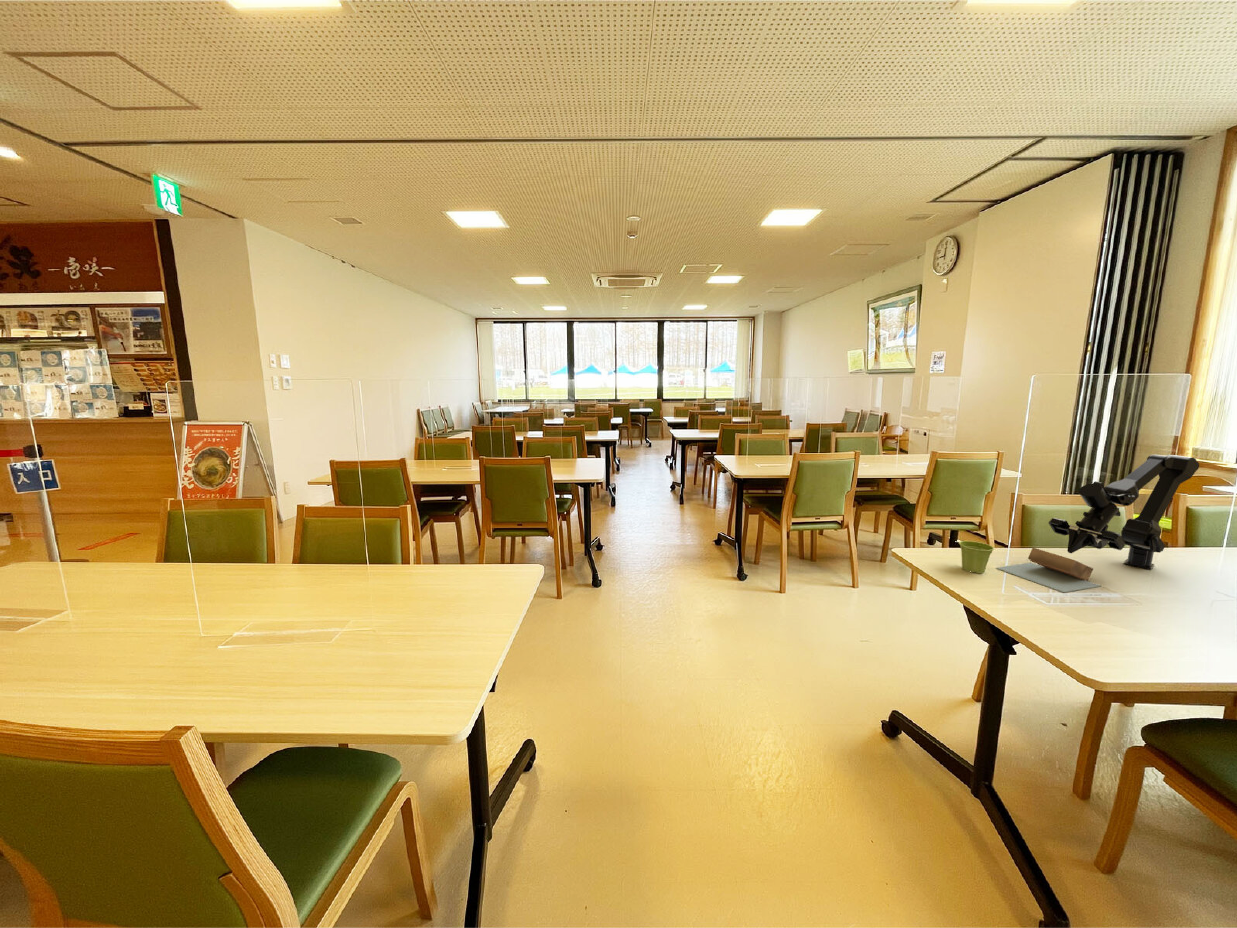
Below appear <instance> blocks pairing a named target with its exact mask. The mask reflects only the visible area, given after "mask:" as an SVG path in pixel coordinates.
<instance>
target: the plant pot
mask: <svg viewBox="0 0 1237 928" xmlns="http://www.w3.org/2000/svg"><path fill="white" fill-rule="evenodd" d="M958 545H959V546H960V549H961V568H962V569H963V571H967V572H969V571H971V572H970V573H977V574H984V573H985V572H986V568H987V565H988V562H989V559H990V557H991V554H992V553H993V551H994V550H995V547H994V546H992V545H991V544H987V543H985V542H984V543H983V542H979V541H973V540H961V541H959V542H958ZM983 572H984V573H983Z"/></svg>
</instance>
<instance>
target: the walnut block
mask: <svg viewBox="0 0 1237 928" xmlns="http://www.w3.org/2000/svg"><path fill="white" fill-rule="evenodd" d="M1027 558H1028V560H1029V561H1030V562H1031V563H1034V564H1037V565H1040V566H1043V567H1046V568H1049V569H1052V570H1055V571H1058V572H1061V573H1064V574H1067V575H1070V576H1073V577H1076V578H1079V579H1082V580H1085V581H1089V580H1090V577H1091V575H1092V573H1093V571H1094V568H1093V567H1090V566H1088V565H1086V564H1084V563H1082V562H1079V561H1078V560H1075V559H1072V558H1069V557H1066V556H1062V555H1059V554H1056V553H1052V552H1049V551H1045V550H1041V549H1039V548H1035V547H1032V548H1031V551H1030V553H1029V556H1028V557H1027Z"/></svg>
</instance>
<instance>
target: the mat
mask: <svg viewBox="0 0 1237 928" xmlns="http://www.w3.org/2000/svg"><path fill="white" fill-rule="evenodd" d="M996 568H997V570H999V571H1002V572H1005V573H1008V574H1010V575H1012V576H1015V577H1018V578H1021V579H1024V580H1027V581H1029V582H1032V583H1036V584H1038V585H1039V586H1043V585H1044V586H1043V587H1046V588H1048V587H1049V589H1051V588H1053V589H1052V590H1054V589H1055V591H1057V592H1059V593H1063V594H1066V593H1073V592H1077V591H1083V590H1089V589H1095V588H1099V587H1102V585H1100V584H1097V583H1094V582H1091V581H1089V580H1082V579H1079V578H1076V577H1073V576H1070V575H1067V574H1064V573H1061V572H1058V571H1055V570H1052V569H1049V568H1046V567H1043V566H1041V565H1039V564H1037V563H1034V562H1026V563H1018V564H1011V565H1006V566H1005V565H1004V566H998V567H996Z"/></svg>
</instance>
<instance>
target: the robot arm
mask: <svg viewBox="0 0 1237 928" xmlns="http://www.w3.org/2000/svg"><path fill="white" fill-rule="evenodd" d="M1199 468H1200V463H1199V461H1197V459H1196V457H1192V456H1191V457H1190V456H1185V455H1184V456H1183V455H1176V454H1175V455H1174V454H1167V455H1163V454H1150V455H1149V456H1148V457H1147V458H1146V460H1145V461H1144V462H1143V463H1141V464H1140V465H1139V466H1138V467H1137V468H1135V469H1134V470H1133V471H1132V472H1131V473H1129V474H1128V475H1127V476H1125V477H1124V478H1123V479H1120V480H1116V481H1113V482H1111V483H1109V484H1108V485H1104V483H1103V482H1102V481H1101V482H1100V481H1094V482H1093V483H1088V484H1085V485H1083V486H1081V487H1080V488H1078V490H1077V491H1078V494H1079V496H1080V497H1081V499H1082V500H1083V501H1084V503H1085V504H1086V506H1087V507H1089V508H1090V509H1089V510H1088V511H1083V513H1082V515H1083V517H1082V519H1081V520H1080V521H1079V520H1076V522H1075V525H1074V524H1069V522H1068V521H1067V520H1066V519H1061V518H1058V517H1053V518H1051V519H1050V520H1049V521H1048V525H1049V526H1050V528H1051V530H1052V531H1053V532H1054V533H1055V534H1057V535H1061V536H1068V543H1067V553H1068V554H1073V553H1075V552H1077V551H1079V550H1081V549H1083V548H1085V547H1093V548H1096V549H1098V550H1101V549H1103V548H1104V547H1105V546H1107V545H1108V547H1109V549H1110V548H1111V549H1114V550H1118V551H1122V550H1123V548H1125V547H1126V546H1129V549H1128V555H1127V558H1126V559H1125V561H1123V564H1124V565H1128V566H1131V565H1132V567H1137V568H1141V569H1146V570H1152V569H1153V568H1154V566H1155V564H1154V563H1153V558H1154V555H1155V553H1162V552H1163V551H1164V550H1165V548H1166V545H1165V543H1164V542H1163V540H1162V538H1160V536H1161V534H1162V529H1161V526H1160V521H1161V519H1162V517H1163V516H1164V514H1165V512H1166V511H1167V508H1168V506H1169V505H1170V504H1171V501H1172V500H1173V498H1174V496H1175V494H1176V492H1177V490H1178V489H1179V486H1180V485H1181V484H1182V483H1184V482H1187V481H1188V480H1191V479H1192V477H1193V476H1194V475H1195V474H1196V472H1197V471H1198V470H1199ZM1157 476H1158V480H1157V482H1156V484H1155V486H1154V487H1153V489H1152V491H1151V492H1150V495H1149V496H1148V499H1147V500H1146V502H1145V504H1144V506H1143V508H1142V509H1141V511H1140V513H1139V514H1138V516H1137V517H1135V518H1128V519H1127V520H1126V522H1125V525H1124V526H1122V529H1121V531H1120V532H1116V531H1111V530H1108V528H1109V527H1110V526H1109V525H1108V524H1109V523H1110V522H1111V521H1112V519H1113V518H1114V517H1115V516H1116V517H1121V511H1120V507H1117V505H1119V506H1124V507H1128V506H1131V505H1132V504H1134V503H1135V501H1136V500H1137V499H1138V498H1139V496H1140V491H1141V489H1143V488H1144V487H1145V486H1146V485H1147V484H1148V483H1150V482H1151V481H1152V480H1153V479H1155V478H1156V477H1157Z"/></svg>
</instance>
